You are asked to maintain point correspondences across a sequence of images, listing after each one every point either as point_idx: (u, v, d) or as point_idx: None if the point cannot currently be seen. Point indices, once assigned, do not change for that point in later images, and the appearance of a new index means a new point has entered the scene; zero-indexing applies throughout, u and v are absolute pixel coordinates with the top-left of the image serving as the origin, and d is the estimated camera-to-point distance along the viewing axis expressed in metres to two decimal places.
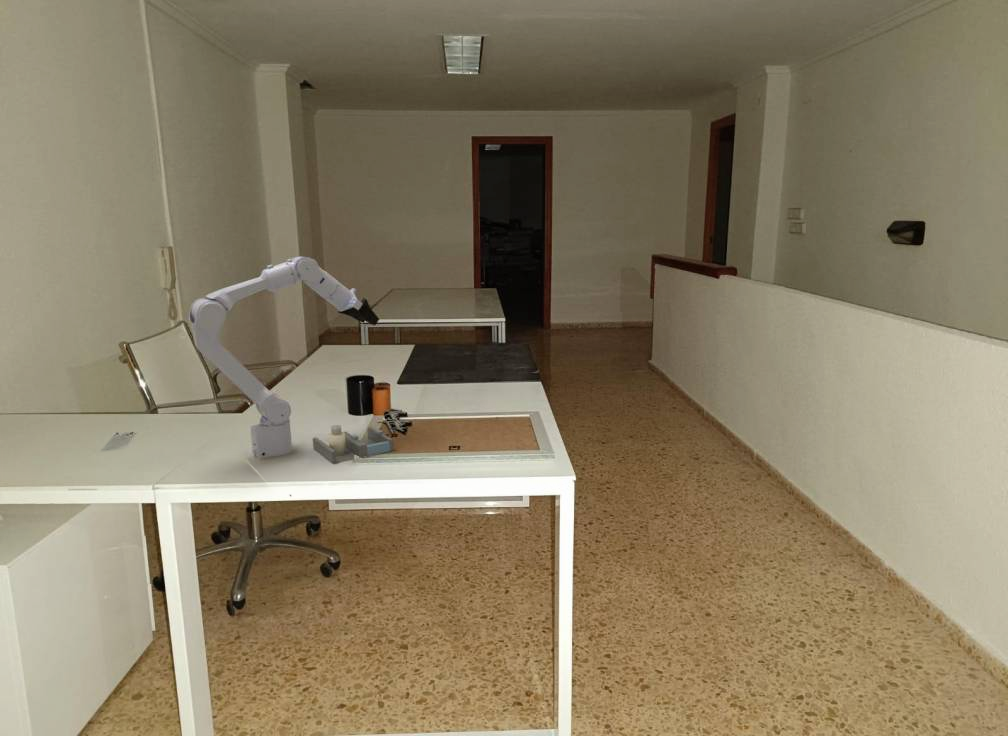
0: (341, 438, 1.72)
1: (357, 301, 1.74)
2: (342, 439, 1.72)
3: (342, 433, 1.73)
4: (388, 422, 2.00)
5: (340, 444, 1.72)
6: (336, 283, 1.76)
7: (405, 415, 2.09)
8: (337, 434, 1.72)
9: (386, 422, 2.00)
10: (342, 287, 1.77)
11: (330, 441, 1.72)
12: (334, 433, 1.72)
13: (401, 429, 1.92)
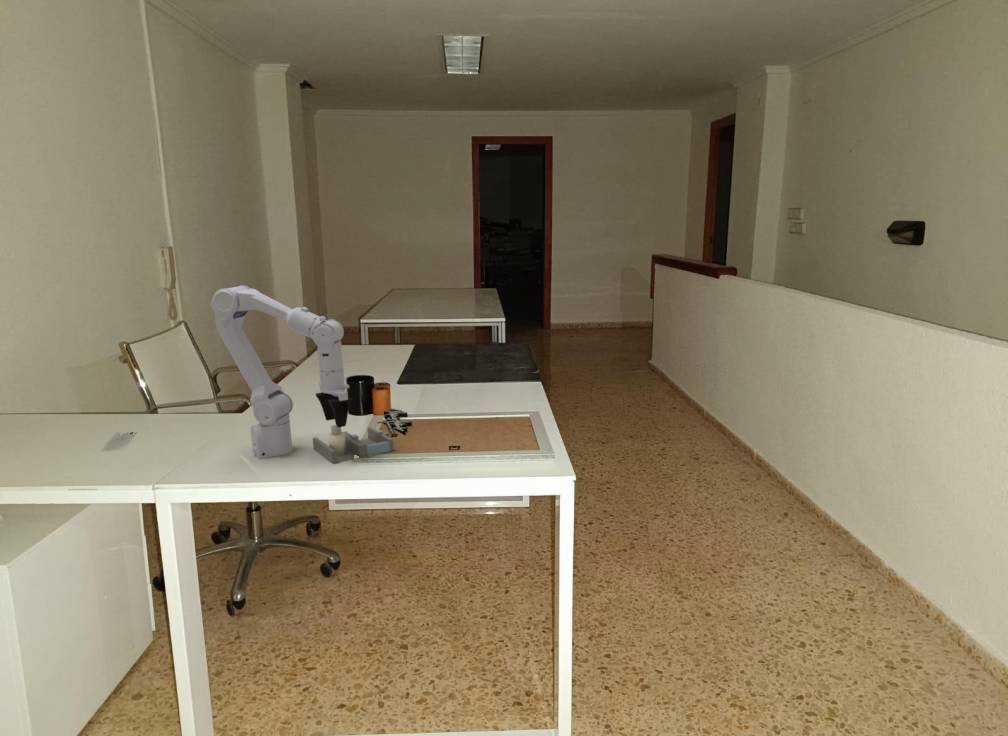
0: (341, 438, 1.72)
1: (345, 393, 1.65)
2: (342, 439, 1.72)
3: (342, 433, 1.73)
4: (388, 422, 2.00)
5: (340, 444, 1.72)
6: (334, 368, 1.67)
7: (405, 415, 2.09)
8: (337, 434, 1.72)
9: (386, 422, 2.00)
10: (342, 374, 1.69)
11: (330, 441, 1.72)
12: (334, 433, 1.72)
13: (401, 429, 1.92)
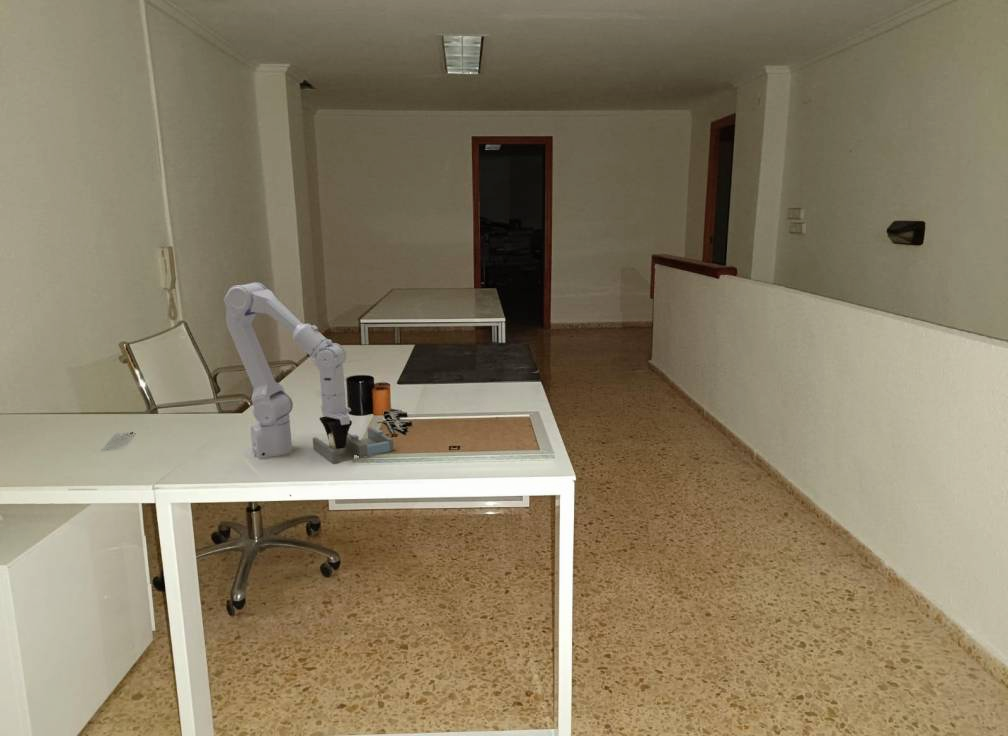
0: None
1: (347, 417, 1.66)
2: None
3: None
4: (388, 422, 2.00)
5: None
6: (336, 392, 1.68)
7: (405, 415, 2.09)
8: None
9: (386, 422, 2.00)
10: (344, 398, 1.71)
11: (330, 441, 1.72)
12: None
13: (401, 429, 1.92)
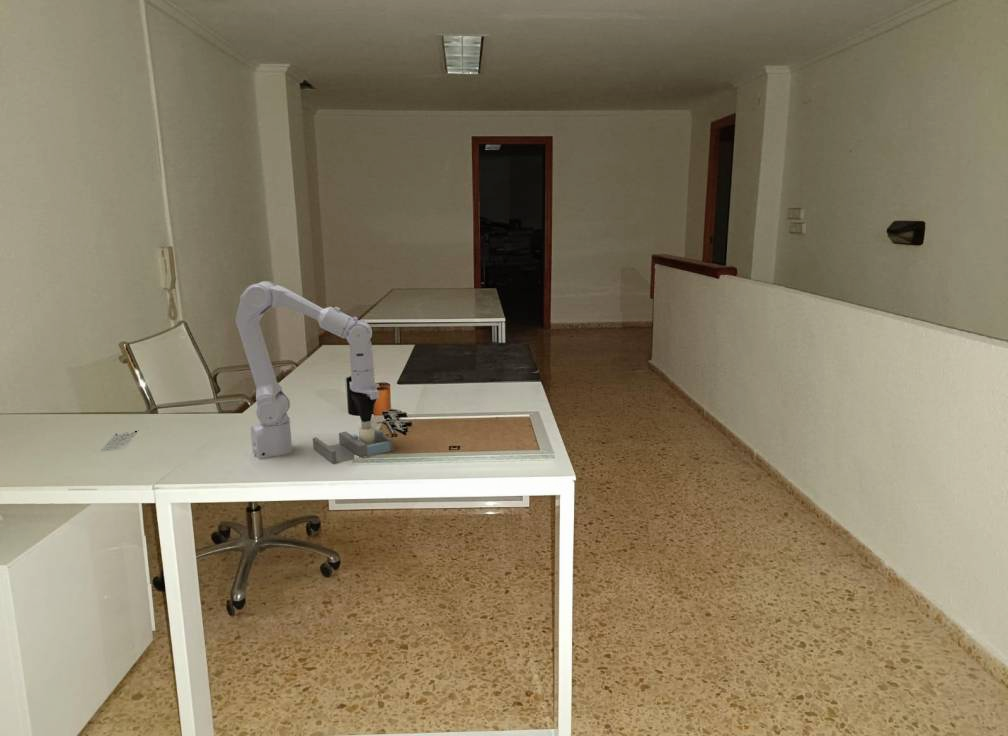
0: (371, 432, 1.76)
1: (377, 392, 1.70)
2: (372, 433, 1.76)
3: (372, 427, 1.78)
4: (388, 422, 1.99)
5: (370, 438, 1.76)
6: (368, 368, 1.72)
7: (404, 415, 2.09)
8: (367, 428, 1.76)
9: (386, 422, 1.99)
10: (373, 374, 1.74)
11: (360, 435, 1.76)
12: (364, 427, 1.76)
13: (401, 429, 1.92)
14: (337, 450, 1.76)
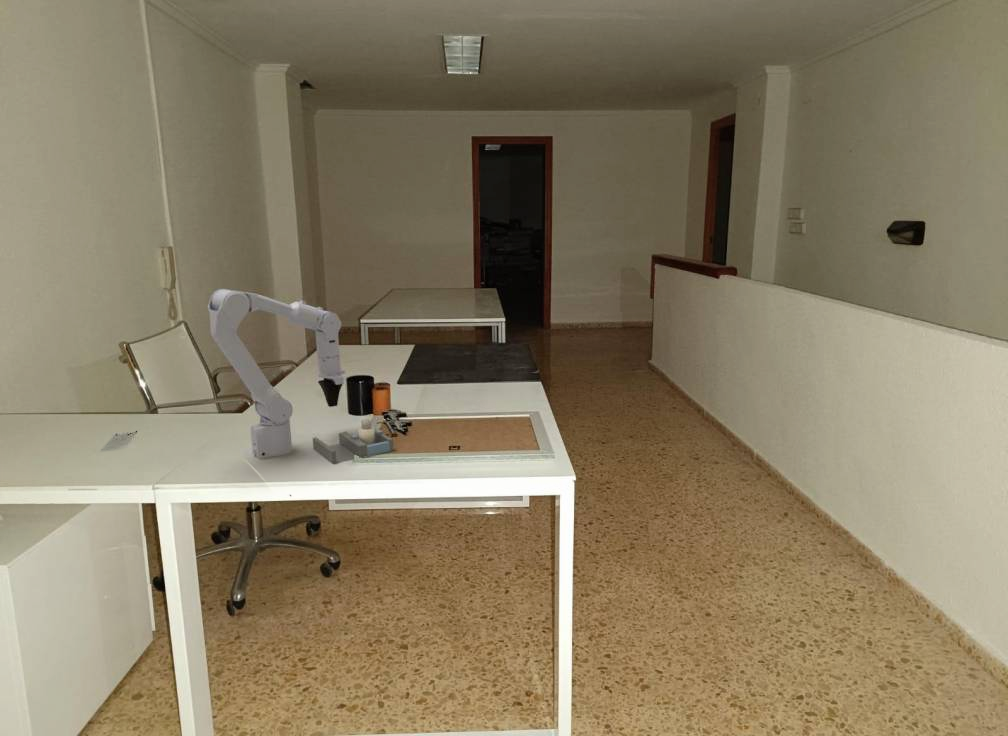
0: (371, 432, 1.76)
1: (341, 378, 1.78)
2: (372, 433, 1.76)
3: (372, 427, 1.78)
4: (388, 422, 1.99)
5: (370, 438, 1.76)
6: (338, 353, 1.82)
7: (404, 415, 2.09)
8: (367, 428, 1.76)
9: (386, 422, 1.99)
10: (338, 360, 1.82)
11: (360, 435, 1.76)
12: (364, 427, 1.76)
13: (401, 429, 1.92)
14: (337, 450, 1.76)
